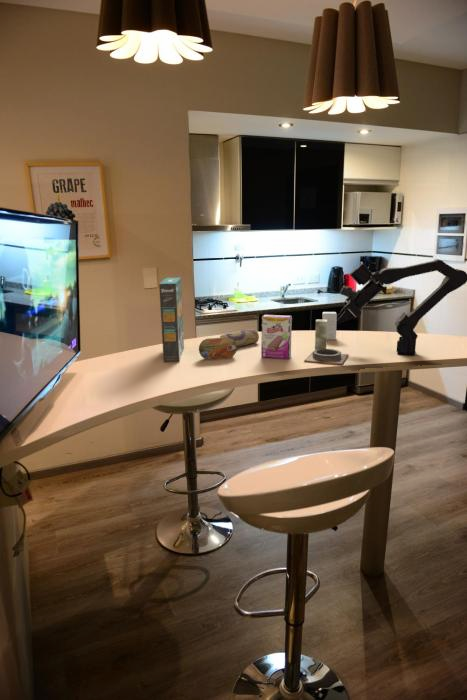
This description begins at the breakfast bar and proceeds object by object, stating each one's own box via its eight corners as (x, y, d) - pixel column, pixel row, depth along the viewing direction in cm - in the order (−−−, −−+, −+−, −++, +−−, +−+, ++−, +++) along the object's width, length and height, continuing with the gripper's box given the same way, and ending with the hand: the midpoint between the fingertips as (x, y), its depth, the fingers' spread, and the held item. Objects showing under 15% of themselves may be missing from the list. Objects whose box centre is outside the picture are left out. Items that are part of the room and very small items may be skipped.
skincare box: (335, 337, 211) (336, 311, 208) (336, 339, 207) (337, 313, 204) (321, 337, 212) (322, 311, 209) (322, 339, 208) (323, 313, 205)
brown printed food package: (200, 361, 177) (199, 339, 175) (198, 359, 180) (197, 338, 178) (237, 357, 181) (237, 336, 179) (235, 355, 184) (235, 335, 182)
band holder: (348, 355, 181) (348, 349, 180) (342, 365, 168) (342, 358, 168) (312, 352, 186) (313, 346, 185) (304, 361, 173) (304, 355, 173)
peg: (326, 349, 191) (327, 319, 188) (325, 351, 187) (326, 321, 184) (315, 348, 192) (316, 319, 189) (314, 351, 188) (315, 321, 185)
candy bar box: (261, 358, 180) (260, 316, 176) (263, 354, 184) (263, 314, 180) (289, 359, 177) (290, 317, 173) (291, 356, 182) (292, 315, 177)
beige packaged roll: (248, 341, 208) (248, 326, 206) (259, 344, 202) (259, 329, 201) (202, 351, 192) (201, 335, 190) (213, 354, 186) (213, 338, 185)
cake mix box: (169, 348, 197) (166, 277, 190) (184, 348, 197) (180, 277, 190) (163, 362, 176) (159, 283, 169) (179, 362, 176) (175, 283, 169)
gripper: (352, 276, 189) (323, 302, 194) (353, 281, 171) (322, 310, 176) (371, 296, 189) (342, 321, 194) (374, 302, 171) (342, 330, 176)
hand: (337, 320), depth 185 cm, fingers open, 9 cm apart
